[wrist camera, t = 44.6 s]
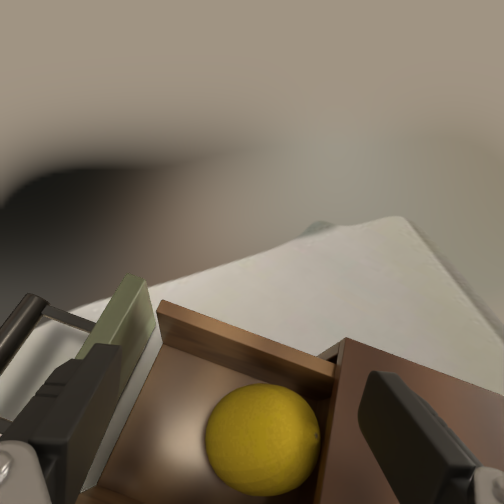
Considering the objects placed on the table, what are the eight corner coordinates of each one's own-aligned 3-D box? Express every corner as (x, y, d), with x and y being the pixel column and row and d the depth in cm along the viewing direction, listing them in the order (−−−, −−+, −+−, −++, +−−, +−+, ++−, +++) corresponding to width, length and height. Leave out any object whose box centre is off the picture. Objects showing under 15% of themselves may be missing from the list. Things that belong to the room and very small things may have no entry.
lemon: (166, 417, 19) (262, 409, 14) (230, 376, 23) (320, 358, 18) (199, 512, 19) (312, 539, 14) (258, 452, 23) (360, 455, 18)
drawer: (-42, 463, 20) (-168, 475, 13) (74, 293, 26) (33, 237, 19) (289, 588, 19) (349, 672, 12) (325, 386, 26) (378, 366, 19)
